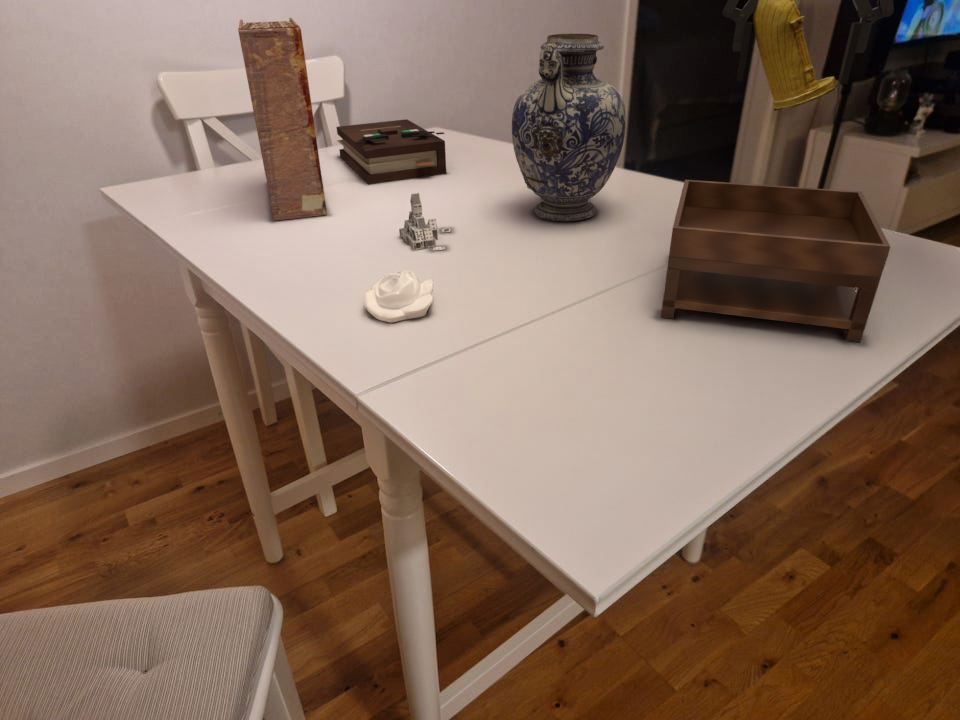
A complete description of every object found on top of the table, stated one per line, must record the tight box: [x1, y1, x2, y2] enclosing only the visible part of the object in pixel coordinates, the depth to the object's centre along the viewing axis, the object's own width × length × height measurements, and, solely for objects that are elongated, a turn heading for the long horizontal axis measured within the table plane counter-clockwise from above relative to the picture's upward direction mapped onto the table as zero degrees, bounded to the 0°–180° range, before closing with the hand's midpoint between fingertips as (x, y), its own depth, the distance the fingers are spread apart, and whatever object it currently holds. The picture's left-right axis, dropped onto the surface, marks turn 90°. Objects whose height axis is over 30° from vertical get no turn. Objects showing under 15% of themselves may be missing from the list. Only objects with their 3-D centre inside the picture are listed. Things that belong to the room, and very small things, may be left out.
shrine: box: [752, 0, 839, 112], centre depth 81 cm, size 12×8×15 cm
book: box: [237, 17, 328, 222], centre depth 118 cm, size 25×9×30 cm, turn 17°
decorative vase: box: [511, 33, 627, 223], centre depth 108 cm, size 21×19×28 cm
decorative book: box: [336, 118, 447, 185], centre depth 144 cm, size 19×8×30 cm
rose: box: [363, 269, 434, 323], centre depth 84 cm, size 10×4×10 cm
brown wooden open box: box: [660, 179, 891, 343], centre depth 82 cm, size 22×20×12 cm
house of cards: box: [398, 192, 451, 251], centre depth 103 cm, size 9×9×8 cm
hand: (790, 81), depth 83 cm, fingers closed on shrine, 11 cm apart
